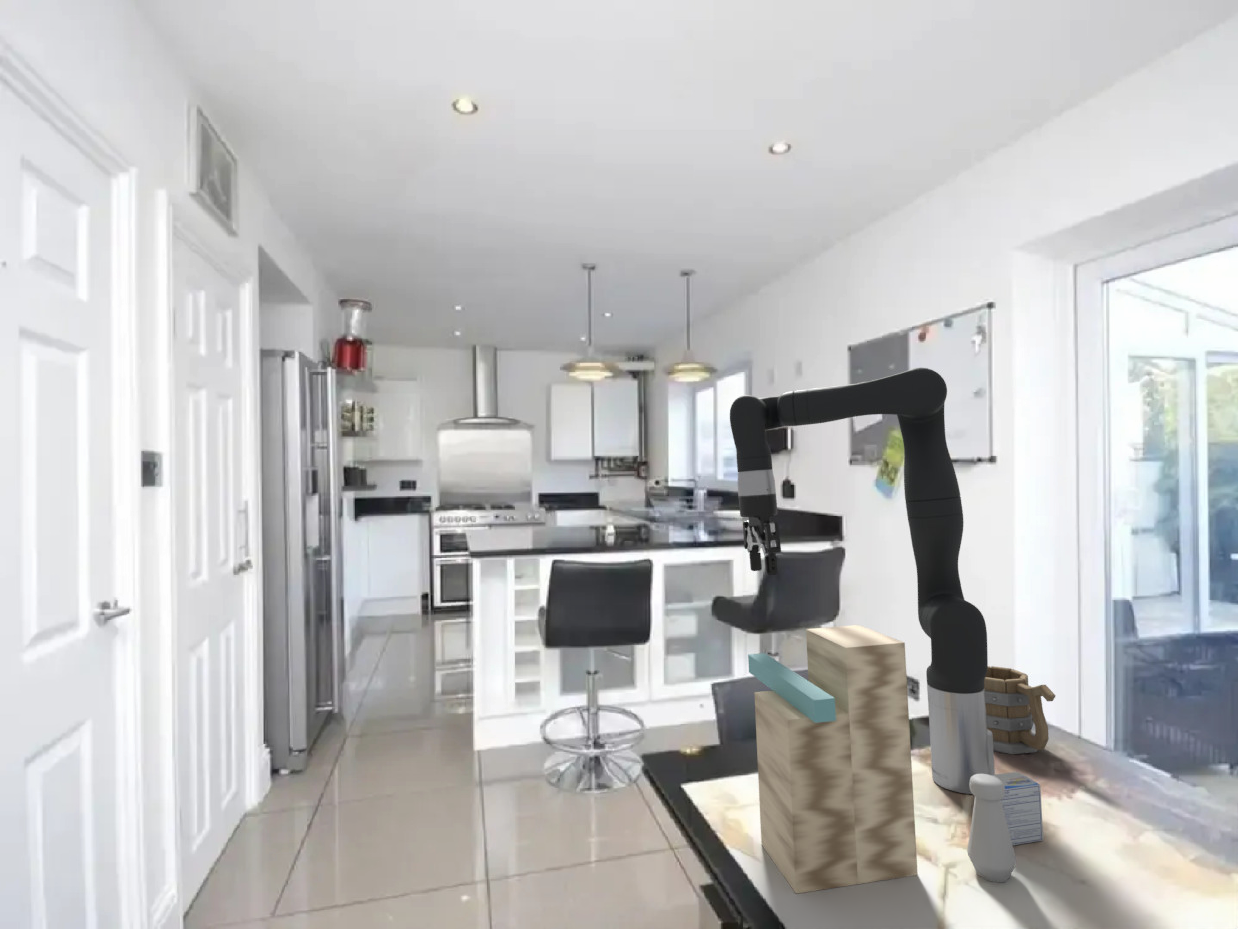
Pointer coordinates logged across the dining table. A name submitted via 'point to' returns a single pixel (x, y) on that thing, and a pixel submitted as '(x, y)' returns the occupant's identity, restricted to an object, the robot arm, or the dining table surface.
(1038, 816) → the medicine box
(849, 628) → the block
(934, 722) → the robot arm
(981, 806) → the salt shaker
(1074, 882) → the dining table surface
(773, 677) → the teal bar
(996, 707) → the tankard
